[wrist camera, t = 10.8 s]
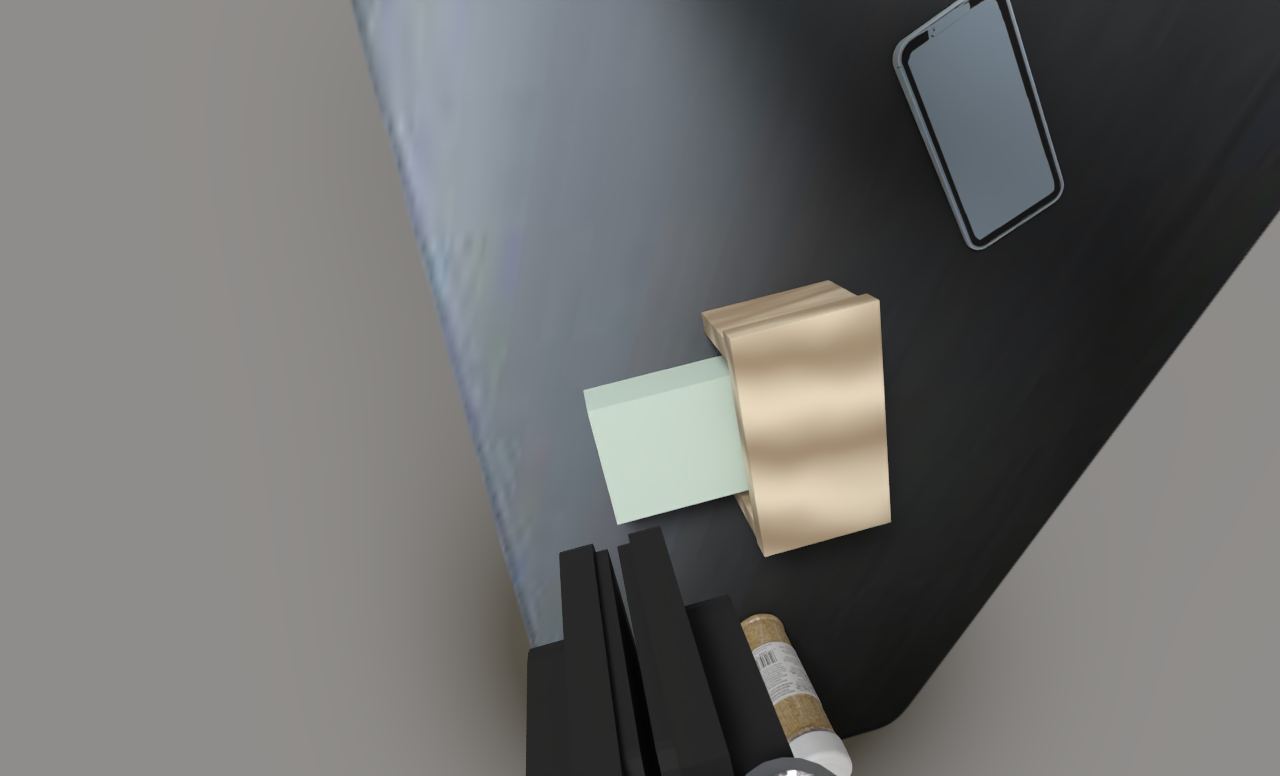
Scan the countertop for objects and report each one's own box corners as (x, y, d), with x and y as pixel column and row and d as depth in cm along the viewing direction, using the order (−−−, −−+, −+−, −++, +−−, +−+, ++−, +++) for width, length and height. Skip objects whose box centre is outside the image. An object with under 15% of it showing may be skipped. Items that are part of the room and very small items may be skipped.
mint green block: (583, 390, 43) (587, 411, 40) (805, 334, 44) (826, 350, 41) (612, 497, 47) (617, 524, 44) (816, 443, 48) (836, 466, 45)
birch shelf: (700, 305, 42) (729, 338, 36) (827, 273, 43) (879, 300, 36) (734, 500, 49) (764, 557, 42) (844, 469, 49) (890, 522, 43)
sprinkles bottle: (742, 658, 56) (802, 811, 43) (724, 625, 54) (781, 774, 41) (790, 637, 55) (862, 783, 43) (773, 602, 54) (844, 745, 41)
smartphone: (972, 256, 44) (891, 50, 37) (964, 253, 44) (883, 51, 38) (1068, 193, 43) (1002, -29, 36) (1057, 191, 44) (991, -26, 37)
